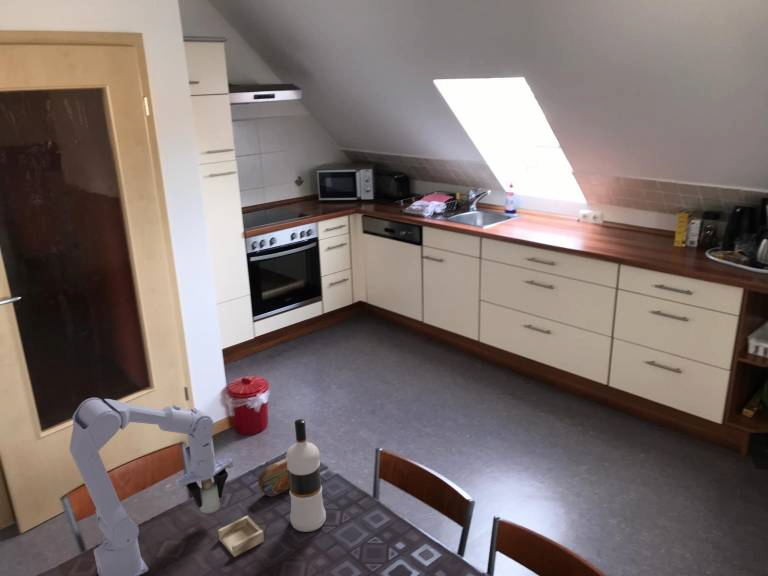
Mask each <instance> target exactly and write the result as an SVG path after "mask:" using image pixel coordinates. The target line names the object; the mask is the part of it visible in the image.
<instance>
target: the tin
mask: <svg viewBox="0 0 768 576" xmlns="http://www.w3.org/2000/svg"><path fill="white" fill-rule="evenodd" d="M257 483H258V489H259V490H260V491H261V492H262V493H263V494H264V495H265V496H268V497H275V496H277V495H279V494H281V493H283V492H285V491H288V489H289V490H290V485H289V474H288V468H287V460H286V457H285V458H283V459H281V460H279V461H277V462H274V463H273V464H270V465H268V466H266V467H265V468H264V469H263V470H262V471H261V472H260V474H259V476H258V482H257Z"/></svg>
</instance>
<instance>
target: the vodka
mask: <svg viewBox="0 0 768 576" xmlns="http://www.w3.org/2000/svg"><path fill="white" fill-rule="evenodd" d="M294 431H295V440H296V441H295V442H296V443H294V444H292V445H291V446H290V447H289V448H288V449H287V452H286V455H285V458H286V460H287V468H288V474H289V485H290V488H289V495H290V514H289V515H290V516H289V518H290V524H291V526H292V527H293V528H294V529H295V530H296V531H299V532H303V533H304V532H305V533H307V532H309V533H310V532H314V531H316V530H318V529H320V528H321V527H323V525H324V524H325V521H326V519H327V512H326V509H325V506H324V500H323V486H322V483H321V481H322V480H321V470H320V465H321V460H320V457H321V456H320V450H319V448H318V447H317V446H316V445H315V444H314V443H312V442H310V441H309V442H308V440H307V430H306V420H305V419H301V418H300V419H296V420H295V421H294Z"/></svg>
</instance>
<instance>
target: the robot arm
mask: <svg viewBox="0 0 768 576" xmlns="http://www.w3.org/2000/svg"><path fill="white" fill-rule="evenodd" d="M105 402H106V403H105ZM130 423H137V424H138V423H139V424H147V425H157V426H158V428H159V429H160V430H161V431H164V432H169V433H177V434H184V435H187V439H188V446H189V452H190V459H191V467H192V470H190V471H189V472H187V473H185V475H183V476H181V477H179V478H178V479H176V480H175V482H176V487H177V489H178V490H179V491H182V490H183V489H184V488H185V487H186V489H188V491H189V492H190V494H191V495H192V498H193V499H194V500H193V501H194V502H195V505H196V506H197V507H198V508H199V509H200V507H202V502H201V497H200V490H201V488H200V487H199V484H198V482H201V481H202V480H206V479H209V478H211V479H212V478H213V482H215V483H216V484H217V488H218V495H219V499H221V498H222V497H223V492H224V486H225V484H226V481H227V479H228V477H229V473H228V471H227V469H228V468H229V469H232V468H233V467H234V463H233V460H232V459H231V458H230V457H227V458H224V459H221V460H217V461H216V458H215V457H216V456H215V448H214V441H213V433H214V430H215V428H216V423H215V422H214V420H213V419H212V417H211V416H209V414H208V415H207V413H205V412H203V411H202V410H199V409H197V408H196V407H192V408H189V409H185V408H182V407H180V406H179V405H177V404H173V405H172V406H165V407H164V408H162V409H161V410H160V409H156V408H151V407H146V406H143V405H139V404H138V405H136V404H133V403H129V402H124V401H120V400H119V401H118V400H116V399H111V398H104V399H101V398H99V397H90V398H87V399H85V400H83V401H82V402H80V404H79V406H78V407H77V408H76V410H75V411H74V413H73V415H72V424H73V425H72V431H71V437H70V443H69V452H70V454H71V457H72V459H73V461H74V463H75V465H76V467H77V468H76V469H77V471H79V474H80V476H81V478H82V481H83V482H84V485H85V487H86V490H87V492H88V493H89V496H90V498H91V500H92V503H93V505H94V506H95V511H94V512H95V515H96V527H97V529H98V530H99V531H100V532H101V533H102V534H103V540H102V541H103V542H102V543H101V544H100V545H99V546H97V547H96V548H94V549H93V556H94V558H95V559H94V560H95V563H96V568H97V574H98V576H141V575H143V574H145V573H147V572H148V571H149V567H148V565H147V564H146V562H145V561H144V559H143V558H142V556H141V551H140V546H139V540H138V537H139V534H140V529H139V526H138V524H137V523H135V522H134V521H133V520H132V519H131V518H130V516H129V515H128V513H127V511H126V510H125V509H124V506H122V504H121V503H122V502H120V498H119V497H118V494H117V492H116V489H115V488H114V485H113V483H112V481H111V478H110V476H109V474H108V472H107V469H106V467H105V465H104V463H103V460H102V457H101V455H100V452H99V451H100V450H101V449H102V448H103V447H104V446H105V445H106V444H108V442H109V441H110V440H111V439H112V438H113V437H114V436H115V435H116V434H117V433H118V432H119V430H120V429H121V430H122V431H123V430H124V429H126V427H127V426H128V425H129V424H130Z"/></svg>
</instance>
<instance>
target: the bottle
mask: <svg viewBox="0 0 768 576" xmlns="http://www.w3.org/2000/svg"><path fill="white" fill-rule="evenodd" d="M198 486H199V487H200V488H201V490H200V497H201V502H202V507H200V508H199V511H200V512H201V513H203V514H212V513H214V512H216V511H218V510H219V509H220V506H221V504H220V498H219V495H218V488H217V484H216V483H215V482H214V481H212V477H211V478H209V479H206V480H201V481H200V484H198Z"/></svg>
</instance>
